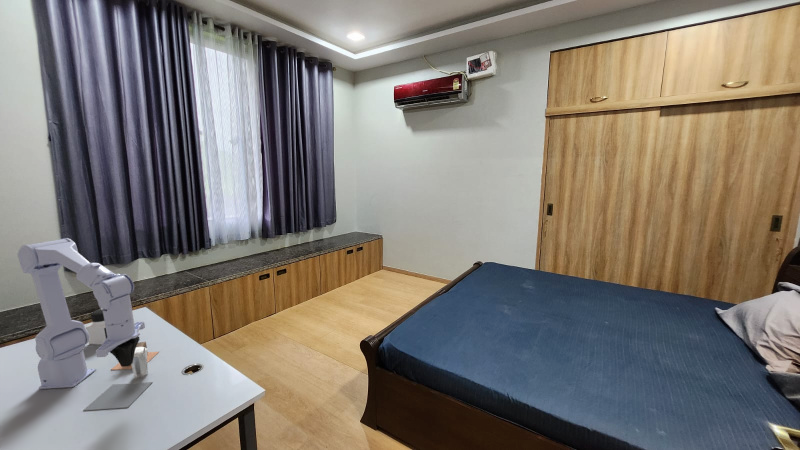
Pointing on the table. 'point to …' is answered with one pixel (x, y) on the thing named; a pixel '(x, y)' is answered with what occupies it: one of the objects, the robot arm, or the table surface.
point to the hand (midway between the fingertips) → (127, 364)
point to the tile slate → (118, 396)
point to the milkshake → (140, 362)
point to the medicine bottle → (97, 328)
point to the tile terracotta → (119, 367)
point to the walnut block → (142, 345)
